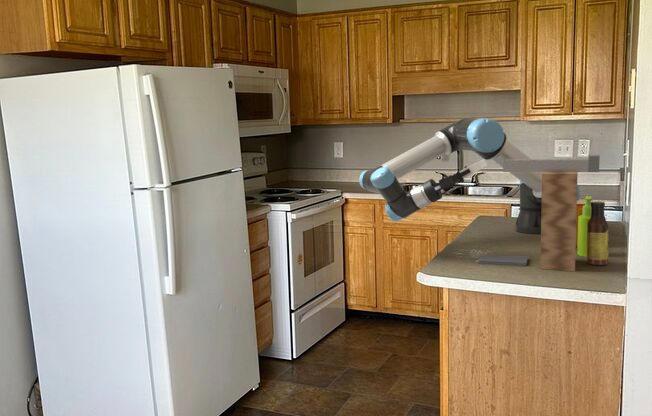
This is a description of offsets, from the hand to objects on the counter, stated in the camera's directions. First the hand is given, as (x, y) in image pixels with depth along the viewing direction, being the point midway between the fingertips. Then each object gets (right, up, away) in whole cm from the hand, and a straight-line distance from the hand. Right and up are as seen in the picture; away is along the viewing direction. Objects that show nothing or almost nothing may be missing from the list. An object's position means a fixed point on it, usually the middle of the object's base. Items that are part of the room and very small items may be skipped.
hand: (482, 163), depth 198 cm
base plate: (+7, -32, +2) cm, 33 cm away
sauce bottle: (+35, -33, -5) cm, 48 cm away
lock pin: (+19, -3, -8) cm, 21 cm away
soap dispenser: (+36, -31, +6) cm, 48 cm away
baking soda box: (+41, -28, +21) cm, 54 cm away
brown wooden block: (+23, -33, -4) cm, 40 cm away
